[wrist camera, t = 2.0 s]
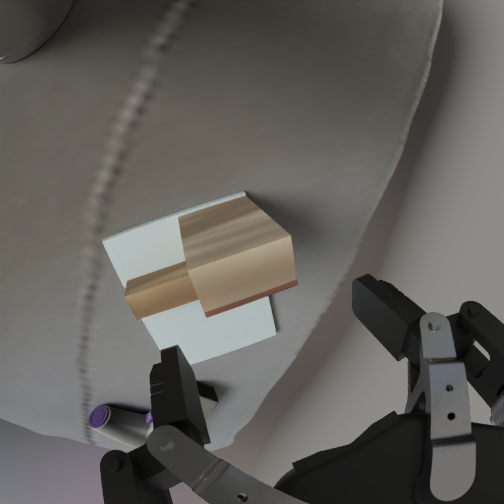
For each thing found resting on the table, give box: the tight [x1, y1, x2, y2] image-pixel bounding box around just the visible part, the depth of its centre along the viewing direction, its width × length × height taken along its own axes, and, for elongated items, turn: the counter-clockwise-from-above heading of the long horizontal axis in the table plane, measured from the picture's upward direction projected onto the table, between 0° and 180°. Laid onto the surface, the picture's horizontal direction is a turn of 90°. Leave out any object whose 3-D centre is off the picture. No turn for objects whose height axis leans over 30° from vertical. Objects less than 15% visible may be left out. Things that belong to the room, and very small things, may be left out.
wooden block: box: [178, 196, 298, 318], centre depth 18 cm, size 3×6×8 cm, turn 102°
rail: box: [124, 261, 199, 320], centre depth 22 cm, size 2×7×2 cm, turn 102°
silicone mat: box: [102, 191, 277, 365], centre depth 25 cm, size 16×12×1 cm
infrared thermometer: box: [89, 381, 218, 448], centre depth 28 cm, size 5×12×15 cm
